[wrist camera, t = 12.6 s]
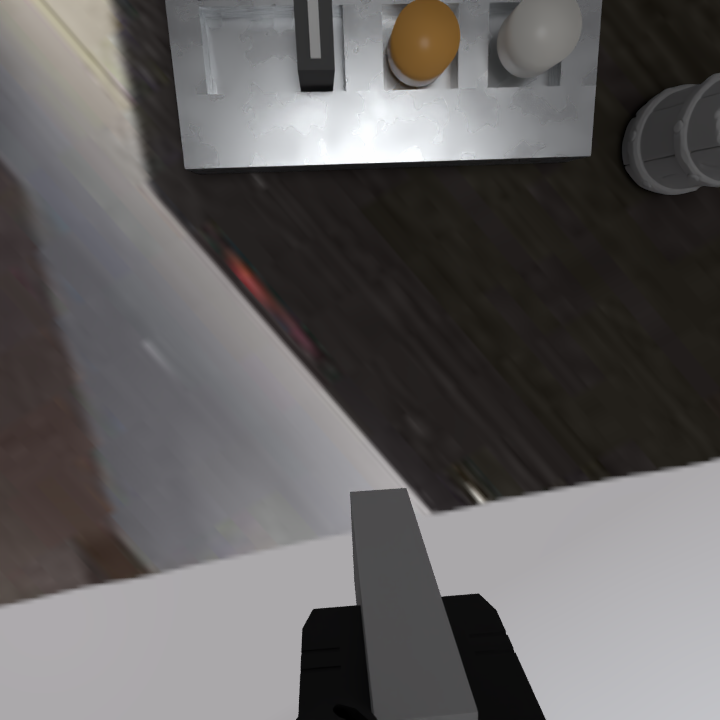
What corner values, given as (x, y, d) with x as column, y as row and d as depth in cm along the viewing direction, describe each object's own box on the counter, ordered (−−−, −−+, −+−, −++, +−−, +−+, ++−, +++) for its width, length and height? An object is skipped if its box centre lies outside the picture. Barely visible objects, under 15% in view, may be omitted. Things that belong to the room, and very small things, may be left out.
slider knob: (300, 91, 36) (297, 69, 30) (296, 22, 35) (292, -13, 29) (333, 91, 36) (335, 68, 31) (329, 22, 35) (331, -14, 29)
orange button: (387, 87, 35) (393, 75, 32) (386, 17, 34) (392, -2, 31) (448, 86, 36) (459, 73, 33) (448, 16, 34) (460, -3, 32)
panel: (198, 174, 39) (182, 168, 34) (174, -46, 35) (152, -85, 31) (565, 162, 40) (594, 154, 36) (577, -49, 37) (612, -86, 32)
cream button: (495, 79, 34) (511, 65, 31) (497, 6, 33) (514, -15, 30) (557, 77, 35) (579, 64, 32) (561, 5, 33) (584, -15, 31)
